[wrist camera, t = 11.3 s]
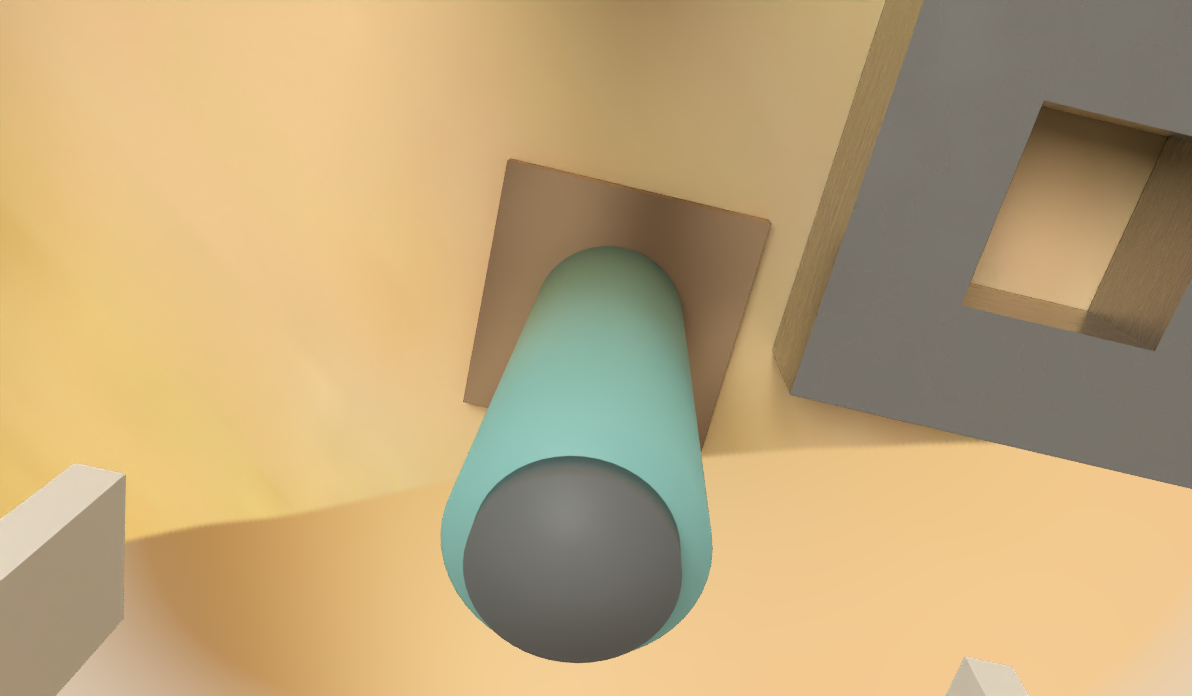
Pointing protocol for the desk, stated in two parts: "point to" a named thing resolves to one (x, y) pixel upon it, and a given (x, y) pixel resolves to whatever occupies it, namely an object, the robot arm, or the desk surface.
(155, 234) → the desk surface
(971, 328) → the housing
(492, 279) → the pad
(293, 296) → the desk surface
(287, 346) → the desk surface
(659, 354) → the teal cylinder
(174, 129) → the desk surface
